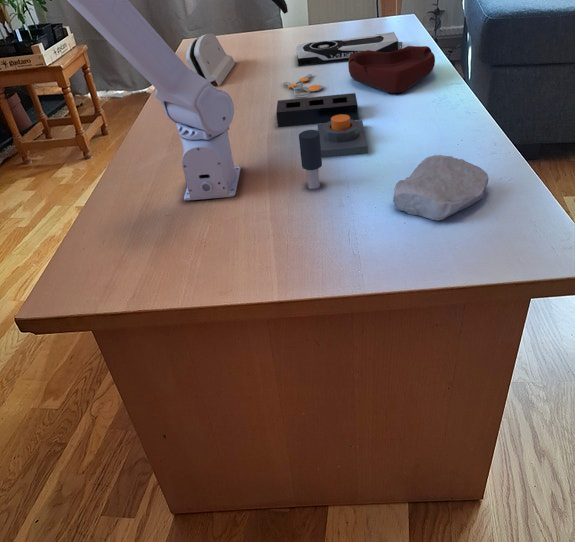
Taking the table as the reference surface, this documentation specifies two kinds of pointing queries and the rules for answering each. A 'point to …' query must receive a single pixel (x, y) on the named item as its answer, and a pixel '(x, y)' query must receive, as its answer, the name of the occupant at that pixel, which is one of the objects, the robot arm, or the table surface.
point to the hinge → (209, 58)
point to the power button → (340, 122)
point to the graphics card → (345, 48)
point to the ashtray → (392, 67)
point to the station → (342, 140)
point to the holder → (315, 109)
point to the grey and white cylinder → (311, 156)
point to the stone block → (440, 187)
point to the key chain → (299, 87)
